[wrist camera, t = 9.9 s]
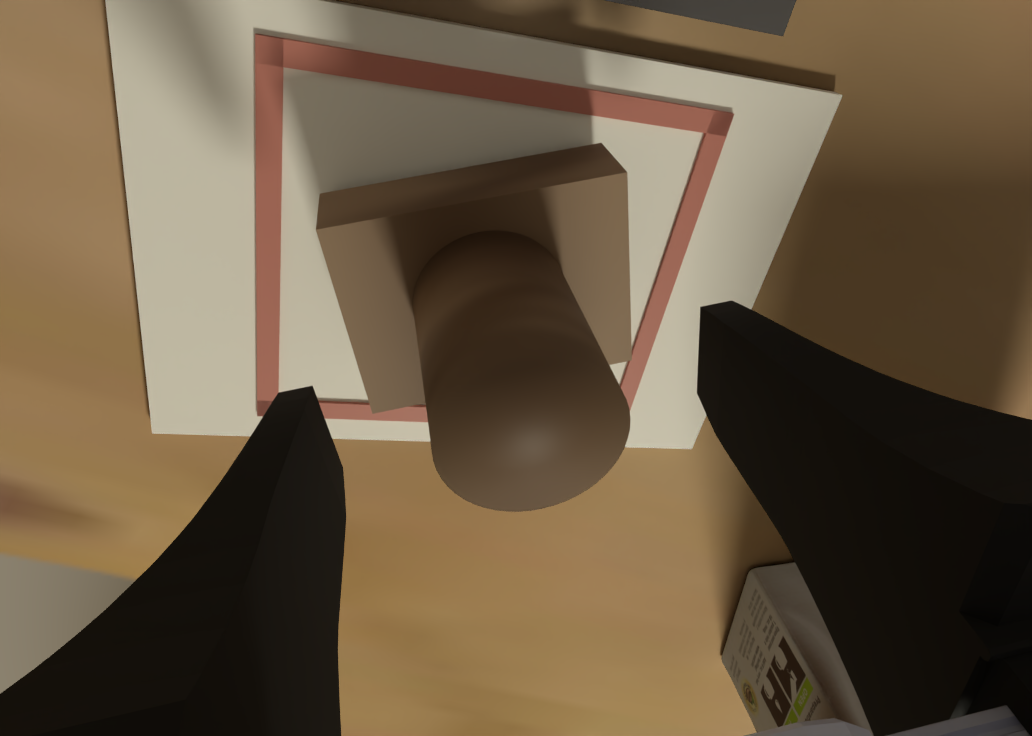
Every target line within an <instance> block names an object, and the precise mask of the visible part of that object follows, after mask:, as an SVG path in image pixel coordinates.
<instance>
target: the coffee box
mask: <svg viewBox="0 0 1032 736" xmlns="http://www.w3.org/2000/svg"><path fill="white" fill-rule="evenodd" d="M722 662H723V664H724V666H725V668H726V670H727V671H728V673H729V675H730V677H731V679H732V681H733V683H734V685H735V687H736V689H737V692H738V694H739V696H740V698H741V700H742V702H743V704H744V706H745V708H746V710H747V712H748V714H749V716H750V718H751V720H752V722H753V725H754V727H755V729H756V731H757V732H761V731H765V730H769V729H773V728H777V727H781V726H785V725H789V724H793V723H797V722H804V721H813V720H822V719H831V718H835V719H838V720H841V721H844V722H847V723H850V724H853V725H856V726H859V727H862V728H865V729H868V730H869V731H870V733H871V735H872V736H874V735H873V733H872V730H871V728H870V725H869V723H868V720H867V718H866V716H865V713H864V711H863V708H862V706H861V703H860V701H859V698H858V696H857V694H856V691H855V689H854V687H853V685H852V682H851V680H850V678H849V676H848V673H847V671H846V669H845V666H844V664H843V662H842V660H841V657H840V655H839V653H838V651H837V648H836V646H835V644H834V642H833V639H832V637H831V635H830V633H829V631H828V629H827V627H826V625H825V622H824V620H823V618H822V616H821V614H820V612H819V610H818V608H817V606H816V604H815V601H814V599H813V597H812V595H811V593H810V591H809V589H808V587H807V585H806V583H805V581H804V579H803V577H802V575H801V573H800V571H799V569H798V567H797V565H796V563H795V562H794V563H787V564H780V565H773V566H765V567H758V568H754V569H752V570H750V571H749V573H748V575H747V579H746V582H745V585H744V588H743V591H742V594H741V597H740V601H739V604H738V607H737V610H736V613H735V616H734V620H733V623H732V626H731V629H730V632H729V635H728V639H727V642H726V645H725V648H724V651H723V654H722Z"/></svg>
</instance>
